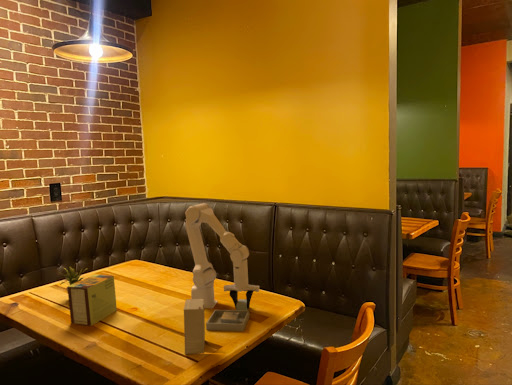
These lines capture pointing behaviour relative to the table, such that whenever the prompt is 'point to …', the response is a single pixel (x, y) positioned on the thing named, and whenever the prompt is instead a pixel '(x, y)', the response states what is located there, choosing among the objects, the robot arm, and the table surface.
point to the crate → (216, 324)
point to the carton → (241, 304)
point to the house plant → (72, 276)
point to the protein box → (92, 299)
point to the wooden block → (230, 317)
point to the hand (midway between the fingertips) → (242, 307)
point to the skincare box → (194, 326)
